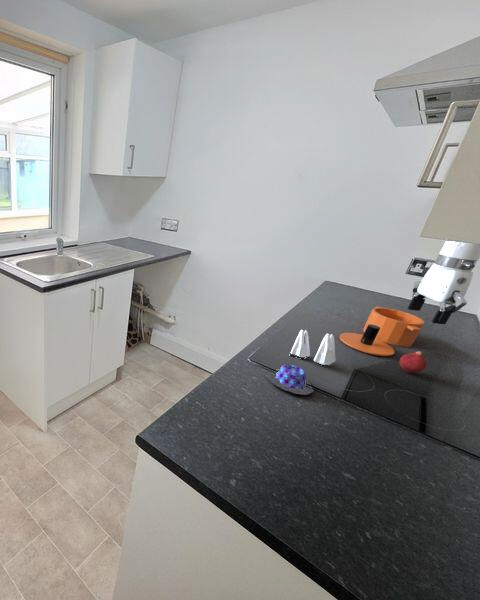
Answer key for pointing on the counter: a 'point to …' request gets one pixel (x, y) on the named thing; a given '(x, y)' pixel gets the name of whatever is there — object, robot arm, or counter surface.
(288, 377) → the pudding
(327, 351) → the shaker set
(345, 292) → the counter surface
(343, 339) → the pot lid
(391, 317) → the pot
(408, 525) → the counter surface
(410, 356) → the onion
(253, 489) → the counter surface
